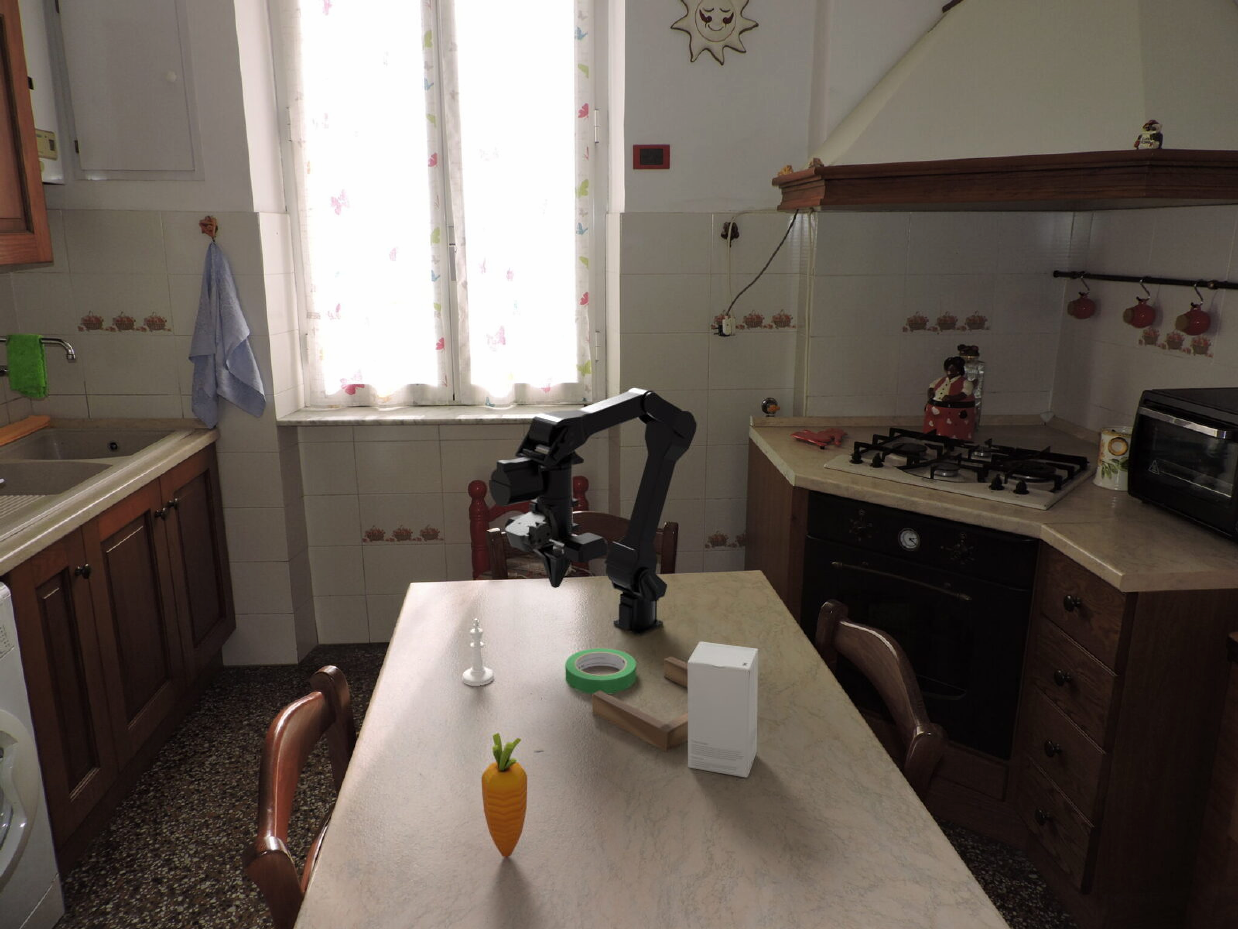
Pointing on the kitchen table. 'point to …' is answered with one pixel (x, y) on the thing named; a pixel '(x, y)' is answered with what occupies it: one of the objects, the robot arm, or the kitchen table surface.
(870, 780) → the kitchen table surface
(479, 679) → the chess piece
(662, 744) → the corral
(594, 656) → the tape roll
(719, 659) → the skincare box
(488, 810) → the carrot
